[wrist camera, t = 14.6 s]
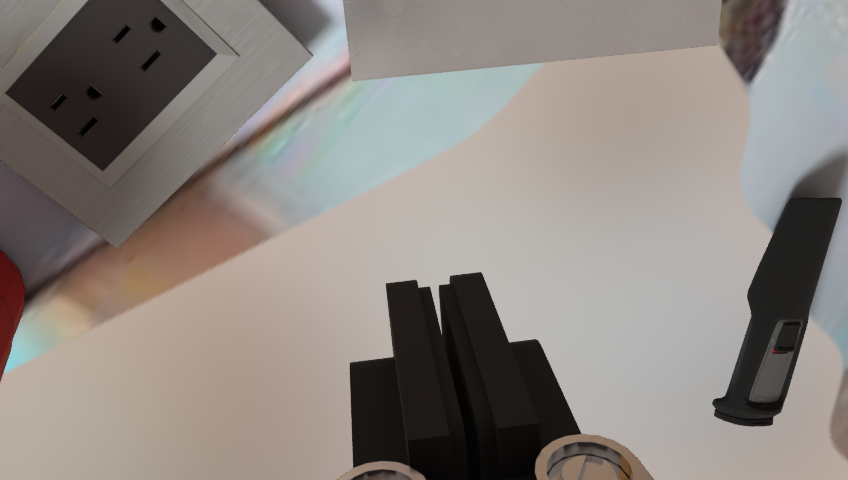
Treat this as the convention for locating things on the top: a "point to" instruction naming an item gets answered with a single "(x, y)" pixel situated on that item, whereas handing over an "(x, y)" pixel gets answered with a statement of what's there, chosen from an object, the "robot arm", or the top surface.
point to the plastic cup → (9, 306)
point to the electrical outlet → (131, 96)
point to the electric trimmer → (779, 312)
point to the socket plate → (515, 32)
